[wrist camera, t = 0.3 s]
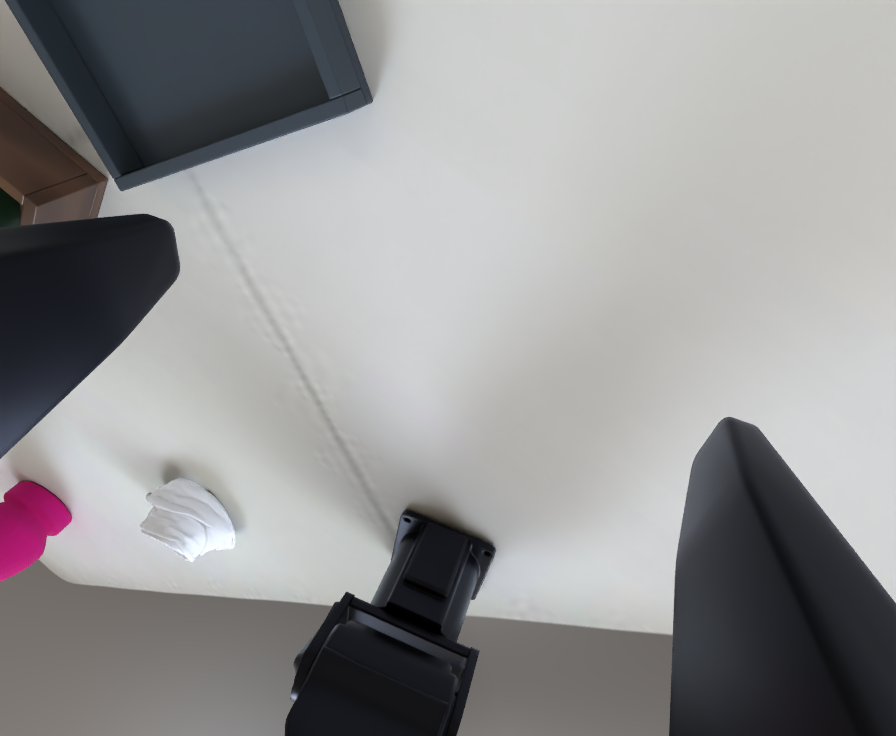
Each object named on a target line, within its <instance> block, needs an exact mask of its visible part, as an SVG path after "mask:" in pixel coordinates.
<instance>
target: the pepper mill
mask: <svg viewBox="0 0 896 736" xmlns="http://www.w3.org/2000/svg"><path fill="white" fill-rule="evenodd" d="M4 501H5V502H2V503H0V581H2V580H4V579H7V578H9V577H11V576H13V575H15V574H17V573H19V572H20V571H22V570H24V569H25V568H27V567H29V566H30V565H31V564H32V563H34V562H35V561H36V560H37V559H39V558H40V557H41V555H42V554H43V552H44V549H45V545H46V538H47V535H48V536H55V535H57V534H58V533H59V532H61V531H62V530H63V529H64V528H65V527H66V526H67V525H68V524H69V523H70V522H71V515H70V513H69V511H68V509H67V508H66V507H65V505H64V504H63V503H62V502H61V501H60V500H59V499H58V498H57V497H56V496H54V495H53V494H52V493H50V492H49V491H48V490H46V489H45V488H43V487H41V486H39V485H37V484H35V483H32V482H29V481H21V482H19V483H18V484H16V485H15V486H14V487H13V488H11V489H10V490H9V491H8V492H6V493H5V494H4Z"/></svg>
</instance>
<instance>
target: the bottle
mask: <svg viewBox="0 0 896 736" xmlns="http://www.w3.org/2000/svg"><path fill="white" fill-rule="evenodd" d="M20 217H21V212H20V205H19V202H18V201H17V200H15V199H14V198H13V197H12V196H10V195H9V194H8V193H7V192H6V191H4V190H3V189H2V188H1V187H0V227H10V226H18V225H19V222H20Z"/></svg>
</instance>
